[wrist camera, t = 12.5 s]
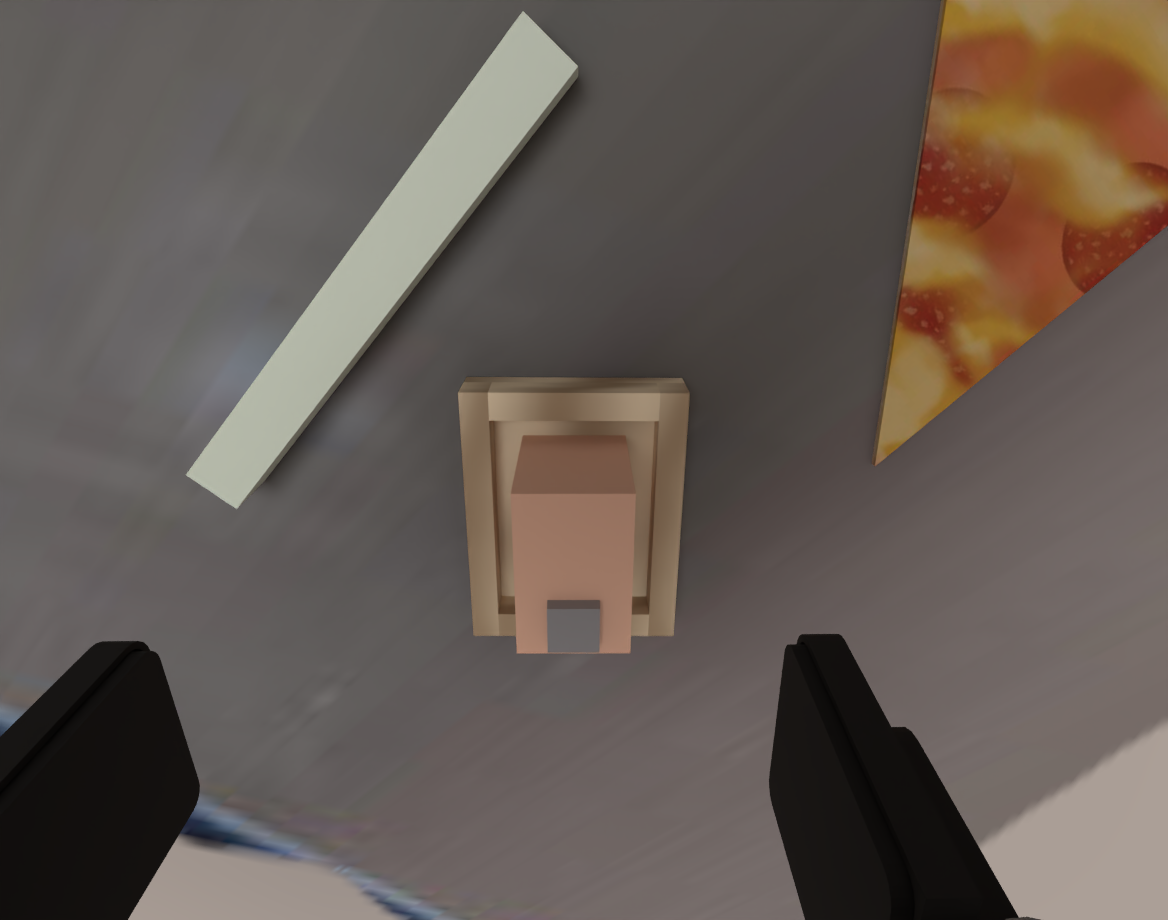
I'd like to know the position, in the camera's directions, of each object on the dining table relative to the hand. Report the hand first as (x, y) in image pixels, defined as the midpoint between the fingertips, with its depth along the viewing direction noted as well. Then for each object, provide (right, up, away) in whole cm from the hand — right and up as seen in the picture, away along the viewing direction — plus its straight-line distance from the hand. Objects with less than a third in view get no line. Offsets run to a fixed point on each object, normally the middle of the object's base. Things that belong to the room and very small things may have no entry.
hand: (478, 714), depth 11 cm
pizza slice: (+17, +16, +17) cm, 29 cm away
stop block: (+1, +2, +21) cm, 22 cm away
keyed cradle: (+1, +2, +22) cm, 22 cm away
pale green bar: (-7, +11, +18) cm, 23 cm away
